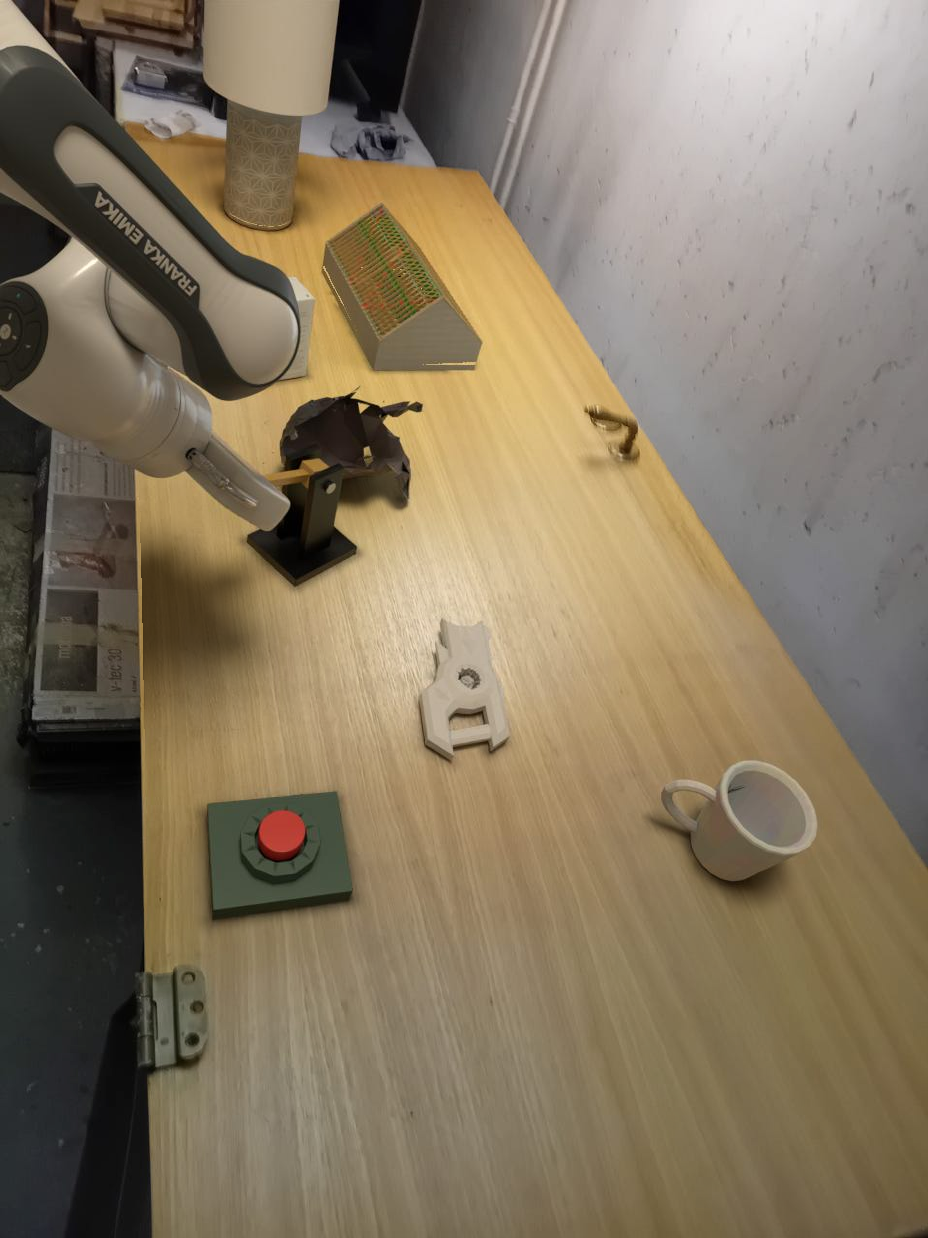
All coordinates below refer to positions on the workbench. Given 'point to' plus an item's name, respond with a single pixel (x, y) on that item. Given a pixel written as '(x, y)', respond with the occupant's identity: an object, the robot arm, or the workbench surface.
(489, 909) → the workbench surface
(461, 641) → the beige holed clip
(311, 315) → the small box
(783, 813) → the mug
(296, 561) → the black lever stand
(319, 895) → the button box
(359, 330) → the grey sloped slatted box
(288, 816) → the button
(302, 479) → the lever
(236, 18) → the lamp
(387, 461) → the crumpled paper
